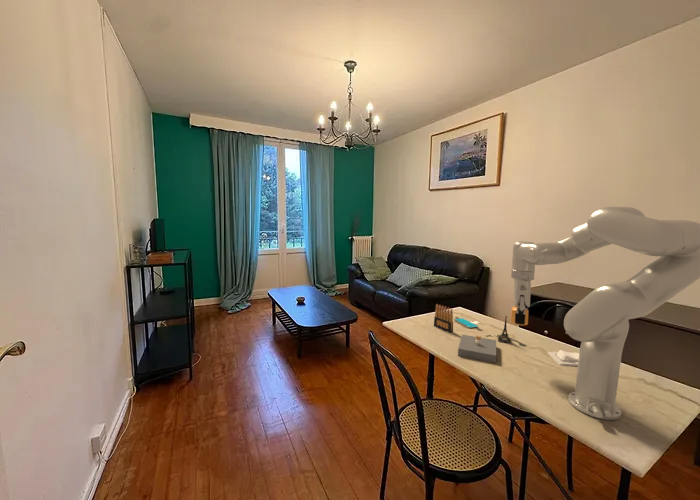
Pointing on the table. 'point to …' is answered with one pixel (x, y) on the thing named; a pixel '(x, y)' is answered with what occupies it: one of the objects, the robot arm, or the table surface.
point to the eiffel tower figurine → (506, 337)
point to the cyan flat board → (467, 323)
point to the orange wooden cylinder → (514, 315)
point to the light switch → (565, 358)
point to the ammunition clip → (444, 318)
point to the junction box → (477, 348)
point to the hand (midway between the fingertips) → (519, 320)
